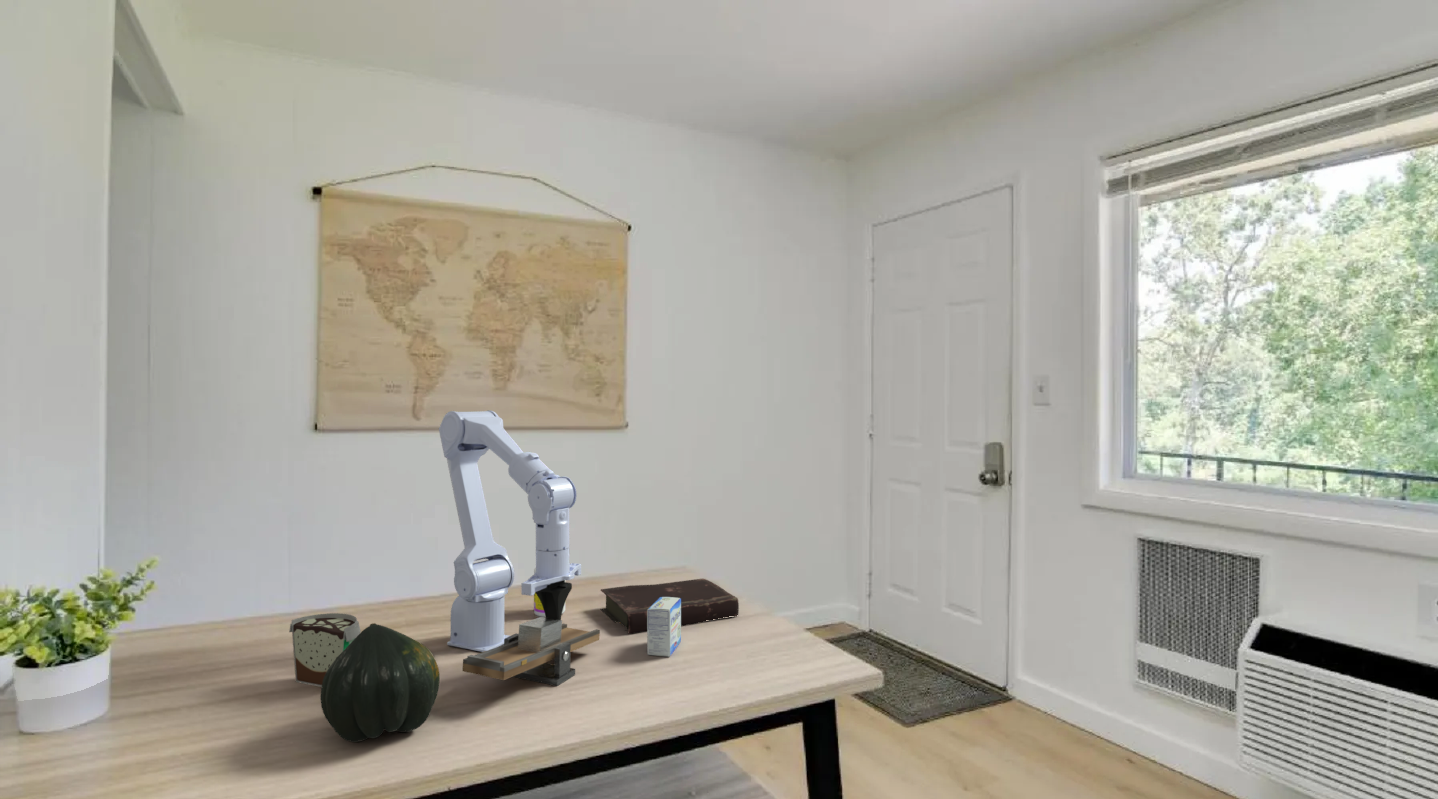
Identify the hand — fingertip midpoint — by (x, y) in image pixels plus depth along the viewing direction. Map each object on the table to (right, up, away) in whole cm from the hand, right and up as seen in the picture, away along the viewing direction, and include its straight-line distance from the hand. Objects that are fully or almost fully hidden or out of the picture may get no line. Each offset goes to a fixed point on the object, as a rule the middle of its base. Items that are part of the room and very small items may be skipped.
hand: (553, 625), depth 122 cm
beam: (-2, -3, -4) cm, 5 cm away
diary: (+18, -8, +30) cm, 36 cm away
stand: (-2, -7, -4) cm, 8 cm away
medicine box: (+19, -7, +9) cm, 22 cm away
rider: (-2, -3, -3) cm, 4 cm away
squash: (-19, -7, -23) cm, 31 cm away
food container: (-35, -7, -6) cm, 36 cm away
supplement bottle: (-8, -7, +29) cm, 31 cm away
